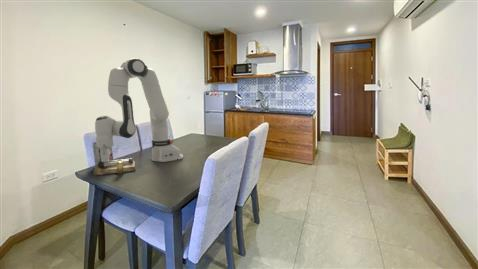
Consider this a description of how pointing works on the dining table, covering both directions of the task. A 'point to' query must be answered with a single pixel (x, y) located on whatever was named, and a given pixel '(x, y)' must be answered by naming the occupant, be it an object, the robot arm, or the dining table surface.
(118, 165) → the brass pin
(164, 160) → the robot arm
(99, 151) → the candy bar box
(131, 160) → the tong frame
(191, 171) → the dining table surface
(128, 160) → the tong arm
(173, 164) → the dining table surface
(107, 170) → the tong rest
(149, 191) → the dining table surface
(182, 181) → the dining table surface
